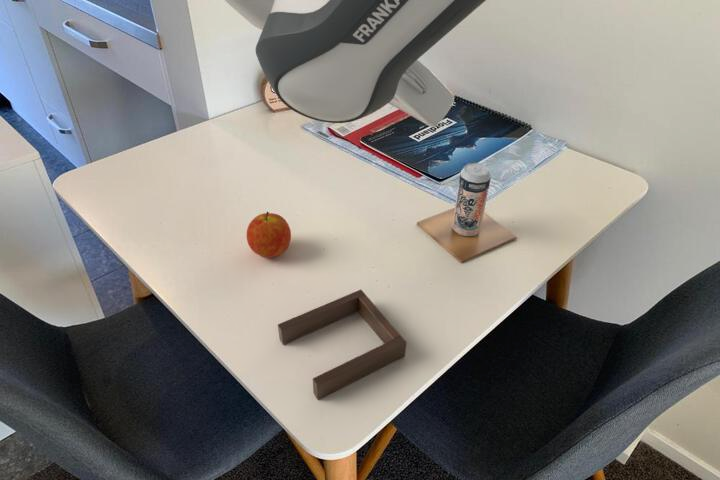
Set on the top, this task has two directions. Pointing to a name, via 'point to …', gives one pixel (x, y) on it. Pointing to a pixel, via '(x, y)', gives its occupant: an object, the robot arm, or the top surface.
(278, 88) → the robot arm
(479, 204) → the beer can
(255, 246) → the fruit
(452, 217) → the cork mat
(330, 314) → the can rack
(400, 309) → the top surface
